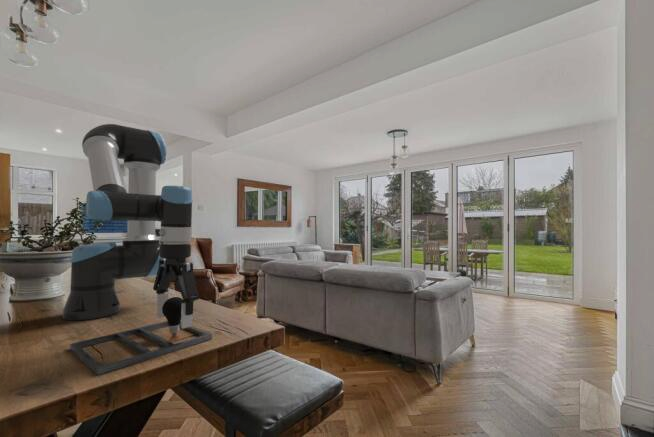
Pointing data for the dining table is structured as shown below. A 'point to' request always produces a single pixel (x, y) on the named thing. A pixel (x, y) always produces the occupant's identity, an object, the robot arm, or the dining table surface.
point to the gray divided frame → (145, 353)
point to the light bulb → (173, 313)
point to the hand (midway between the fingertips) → (174, 321)
